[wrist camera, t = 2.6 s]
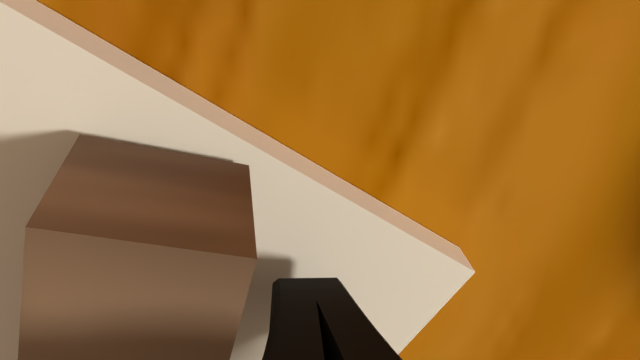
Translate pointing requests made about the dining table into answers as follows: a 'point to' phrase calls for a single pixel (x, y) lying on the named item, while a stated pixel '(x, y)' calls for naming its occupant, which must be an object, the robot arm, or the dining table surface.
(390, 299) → the seat board
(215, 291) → the leg
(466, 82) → the dining table surface
